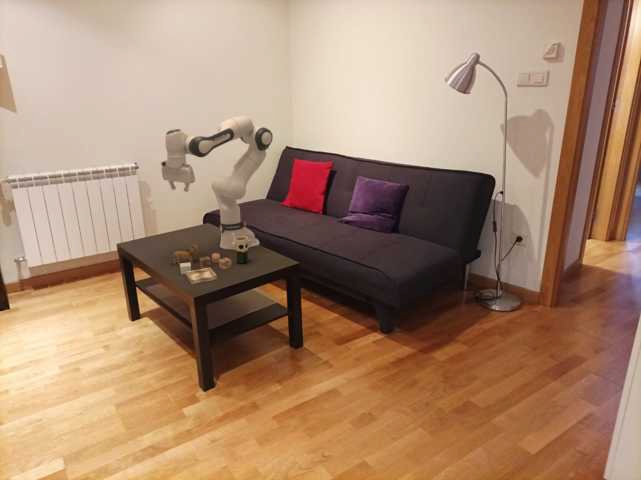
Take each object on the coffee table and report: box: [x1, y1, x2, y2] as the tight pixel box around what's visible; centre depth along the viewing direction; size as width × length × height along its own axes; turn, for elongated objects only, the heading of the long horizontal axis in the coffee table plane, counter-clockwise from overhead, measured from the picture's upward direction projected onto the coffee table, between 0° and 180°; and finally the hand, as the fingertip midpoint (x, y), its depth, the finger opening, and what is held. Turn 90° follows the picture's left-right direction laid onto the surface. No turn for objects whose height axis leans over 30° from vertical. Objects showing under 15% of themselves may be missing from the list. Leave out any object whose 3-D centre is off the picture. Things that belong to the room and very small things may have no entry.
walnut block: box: [199, 256, 212, 269], centre depth 243 cm, size 4×4×5 cm
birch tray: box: [185, 267, 218, 285], centre depth 231 cm, size 12×12×2 cm
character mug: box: [231, 236, 251, 264], centre depth 249 cm, size 11×7×13 cm, turn 125°
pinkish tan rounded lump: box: [211, 252, 221, 264], centre depth 252 cm, size 4×4×4 cm
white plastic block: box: [179, 261, 192, 275], centre depth 238 cm, size 5×5×4 cm
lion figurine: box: [170, 244, 199, 266], centre depth 249 cm, size 15×5×9 cm, turn 116°
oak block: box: [218, 257, 232, 270], centre depth 244 cm, size 4×4×4 cm
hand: (179, 190), depth 245 cm, fingers open, 8 cm apart
